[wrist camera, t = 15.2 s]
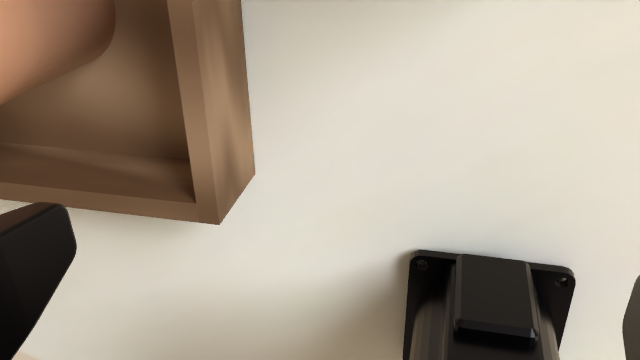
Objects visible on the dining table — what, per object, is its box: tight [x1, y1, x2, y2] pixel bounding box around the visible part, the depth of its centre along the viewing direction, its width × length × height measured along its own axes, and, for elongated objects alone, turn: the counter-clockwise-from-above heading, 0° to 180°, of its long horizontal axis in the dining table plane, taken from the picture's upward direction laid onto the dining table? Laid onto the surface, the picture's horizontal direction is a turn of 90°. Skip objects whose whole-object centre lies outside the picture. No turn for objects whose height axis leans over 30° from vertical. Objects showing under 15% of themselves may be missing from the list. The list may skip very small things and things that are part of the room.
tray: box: [0, 0, 255, 225], centre depth 20 cm, size 14×14×4 cm
